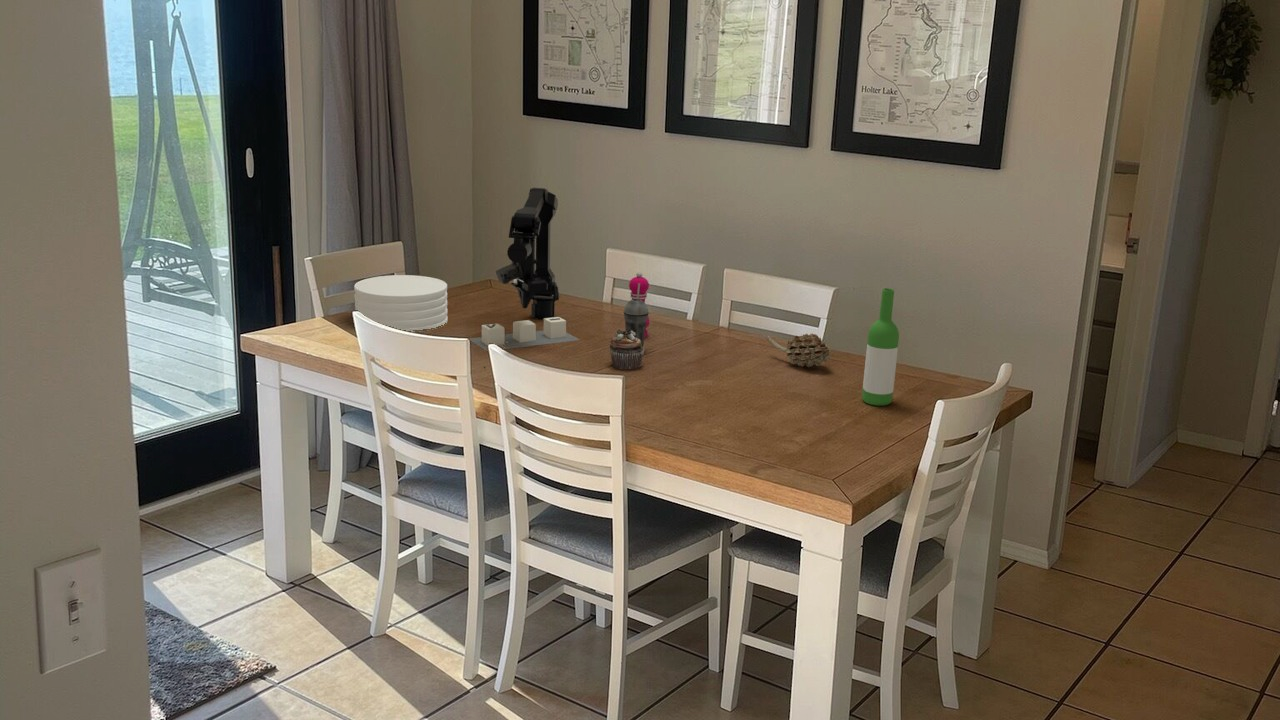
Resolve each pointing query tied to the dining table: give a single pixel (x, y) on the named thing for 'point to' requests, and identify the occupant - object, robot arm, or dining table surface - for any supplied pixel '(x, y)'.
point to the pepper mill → (642, 291)
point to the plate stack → (403, 301)
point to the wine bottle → (881, 355)
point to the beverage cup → (636, 317)
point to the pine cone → (805, 350)
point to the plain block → (524, 331)
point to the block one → (554, 327)
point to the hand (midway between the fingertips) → (524, 308)
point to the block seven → (493, 334)
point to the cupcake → (626, 350)
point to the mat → (514, 343)
